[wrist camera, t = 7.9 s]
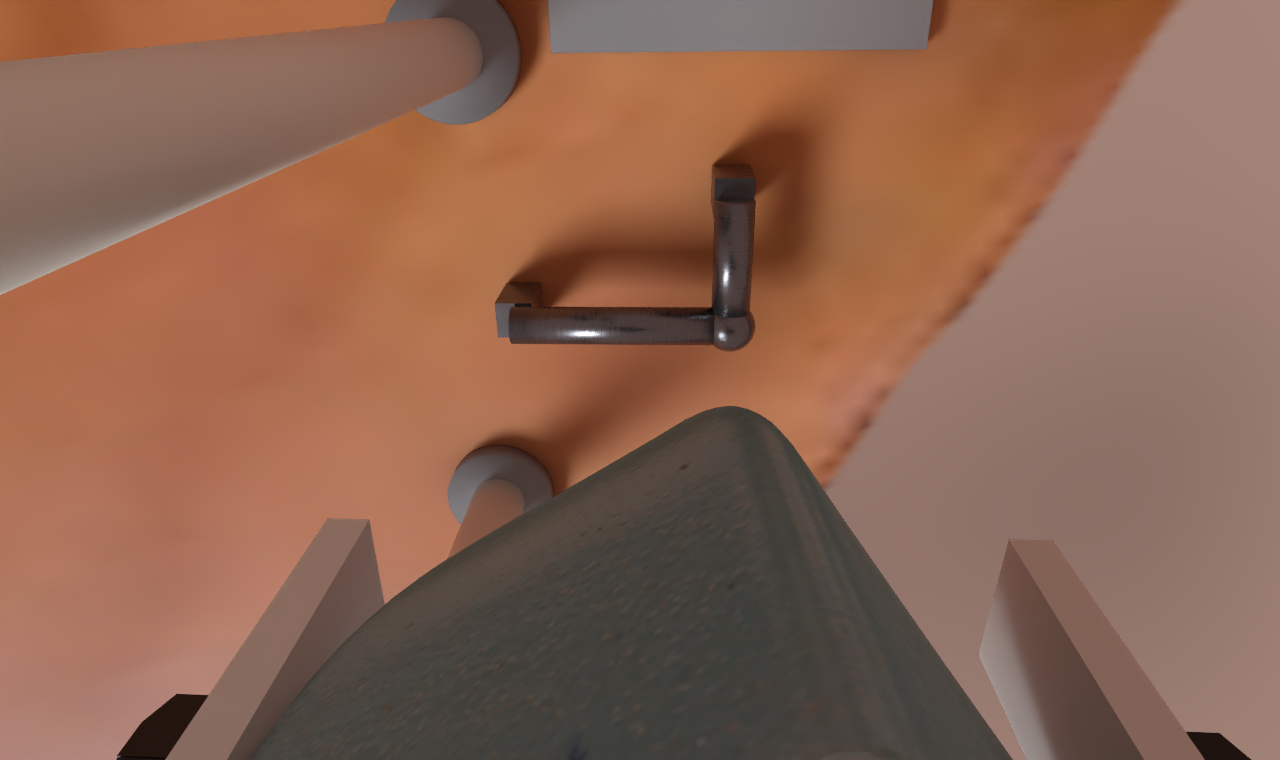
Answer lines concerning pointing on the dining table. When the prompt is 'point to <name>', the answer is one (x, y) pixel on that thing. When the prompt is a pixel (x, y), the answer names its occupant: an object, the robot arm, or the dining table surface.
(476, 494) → the post
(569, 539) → the flower pot
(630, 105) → the dining table surface
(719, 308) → the bent rail
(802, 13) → the tile
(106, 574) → the dining table surface
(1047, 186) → the dining table surface
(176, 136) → the post
